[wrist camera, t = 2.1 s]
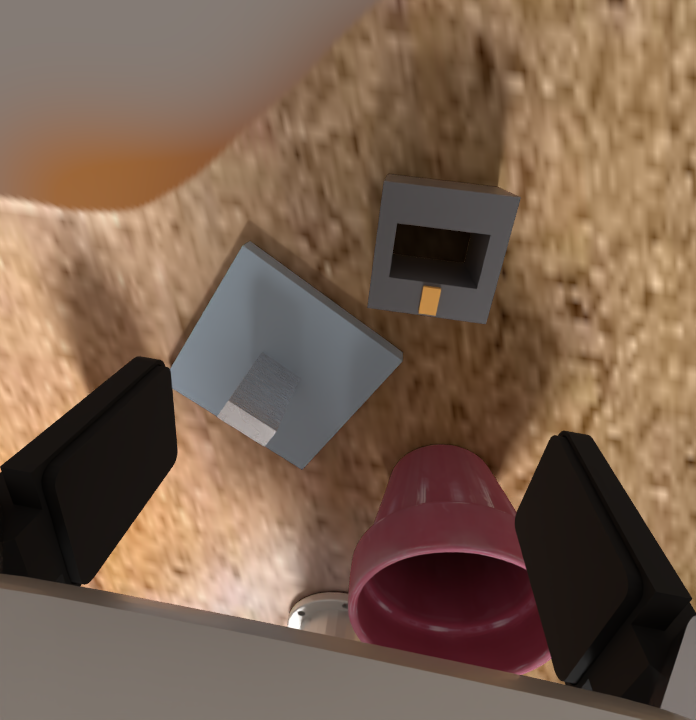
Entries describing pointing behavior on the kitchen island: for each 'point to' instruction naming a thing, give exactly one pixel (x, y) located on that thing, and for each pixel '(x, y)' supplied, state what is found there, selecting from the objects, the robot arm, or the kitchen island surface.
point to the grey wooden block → (260, 400)
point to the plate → (283, 352)
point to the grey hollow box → (433, 276)
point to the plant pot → (446, 568)
